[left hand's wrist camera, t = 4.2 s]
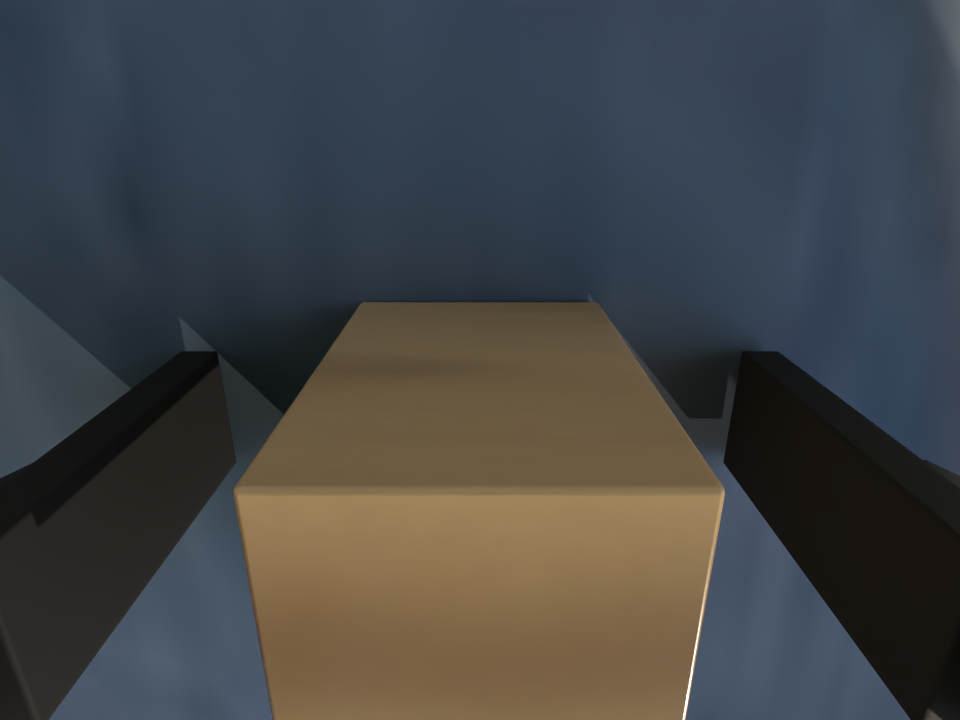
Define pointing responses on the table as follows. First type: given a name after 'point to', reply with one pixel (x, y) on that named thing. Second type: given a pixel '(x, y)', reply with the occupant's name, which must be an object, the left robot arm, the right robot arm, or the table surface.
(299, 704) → the beech block
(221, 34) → the table surface
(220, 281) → the table surface
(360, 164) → the table surface
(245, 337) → the table surface
